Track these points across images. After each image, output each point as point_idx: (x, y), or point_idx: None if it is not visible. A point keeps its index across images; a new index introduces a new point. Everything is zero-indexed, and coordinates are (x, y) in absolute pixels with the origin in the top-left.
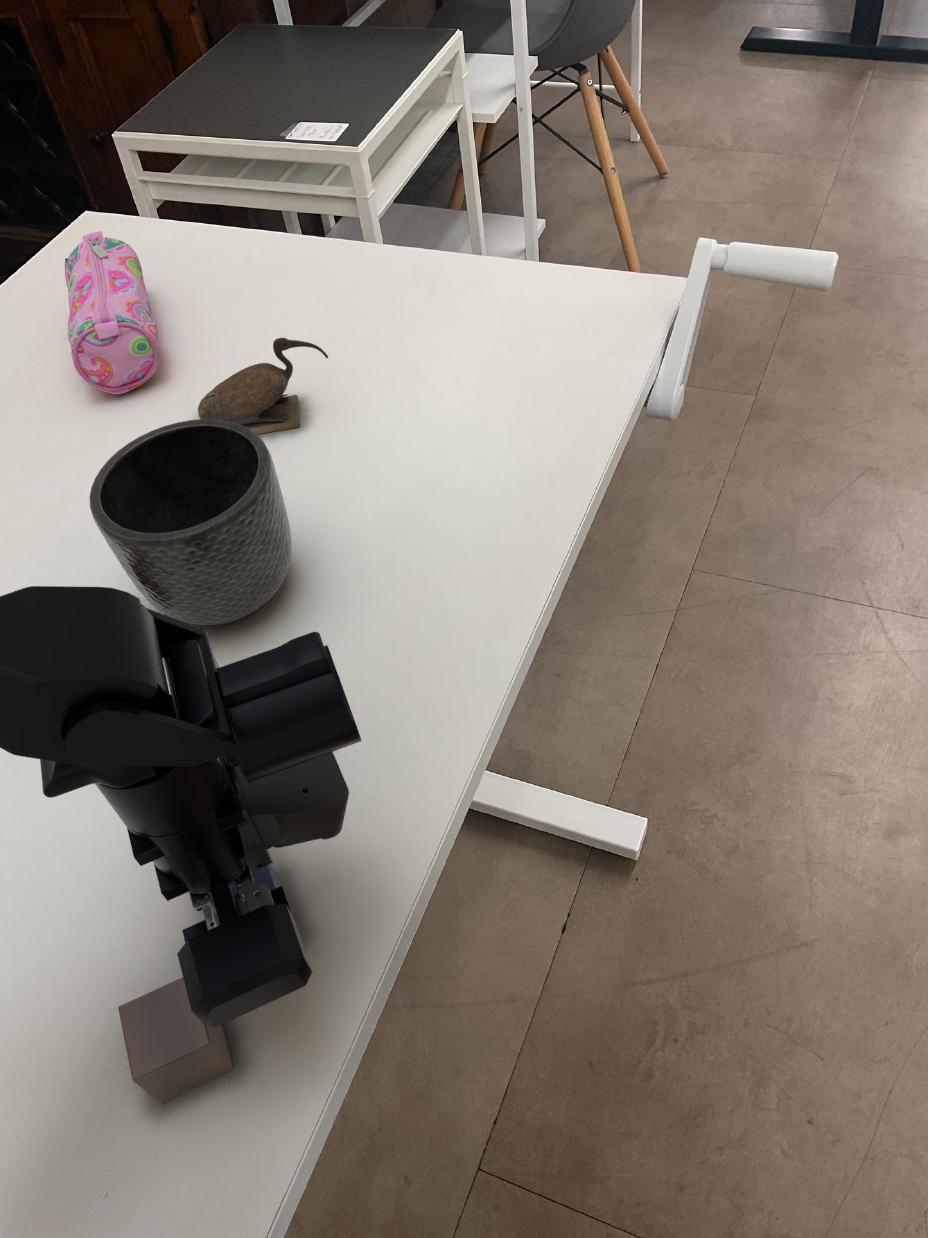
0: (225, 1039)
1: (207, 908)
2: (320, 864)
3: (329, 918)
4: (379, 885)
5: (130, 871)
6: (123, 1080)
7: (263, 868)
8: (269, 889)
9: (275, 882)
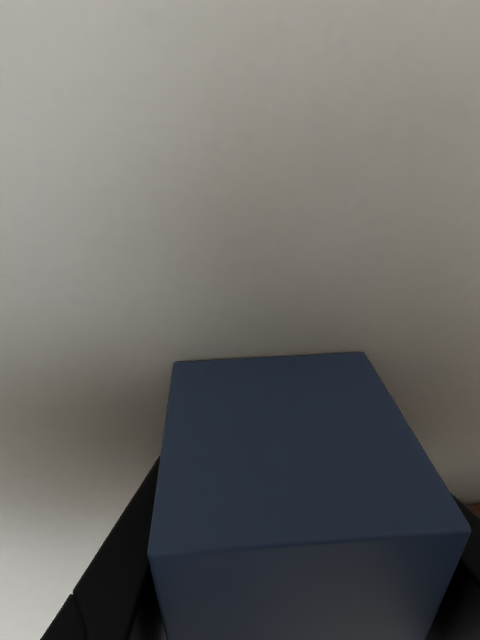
0: (470, 507)
1: None
2: (167, 240)
3: (358, 264)
4: (347, 52)
5: (38, 595)
6: None
7: (257, 559)
8: (367, 553)
9: (288, 475)
